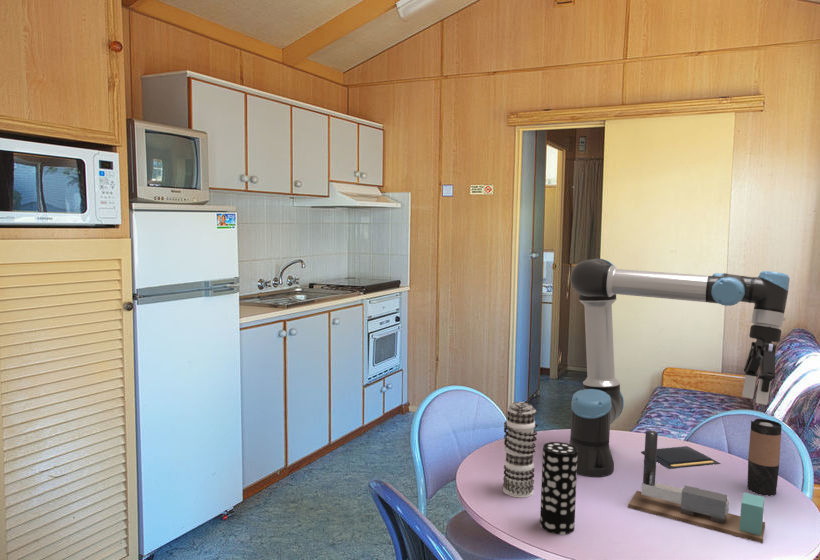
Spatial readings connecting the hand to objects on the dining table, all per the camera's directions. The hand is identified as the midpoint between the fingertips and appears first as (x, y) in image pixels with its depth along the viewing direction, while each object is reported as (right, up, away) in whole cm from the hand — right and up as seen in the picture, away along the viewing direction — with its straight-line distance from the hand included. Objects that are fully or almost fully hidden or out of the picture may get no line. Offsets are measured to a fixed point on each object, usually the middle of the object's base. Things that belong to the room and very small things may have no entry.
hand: (754, 400), depth 166 cm
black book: (-9, -25, +28) cm, 38 cm away
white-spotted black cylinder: (-60, -27, -19) cm, 69 cm away
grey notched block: (-21, -28, -14) cm, 38 cm away
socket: (-12, -28, -20) cm, 37 cm away
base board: (-23, -27, -13) cm, 38 cm away
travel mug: (+4, -27, +4) cm, 27 cm away
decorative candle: (-66, -26, 0) cm, 71 cm away
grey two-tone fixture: (-25, -24, -12) cm, 37 cm away
